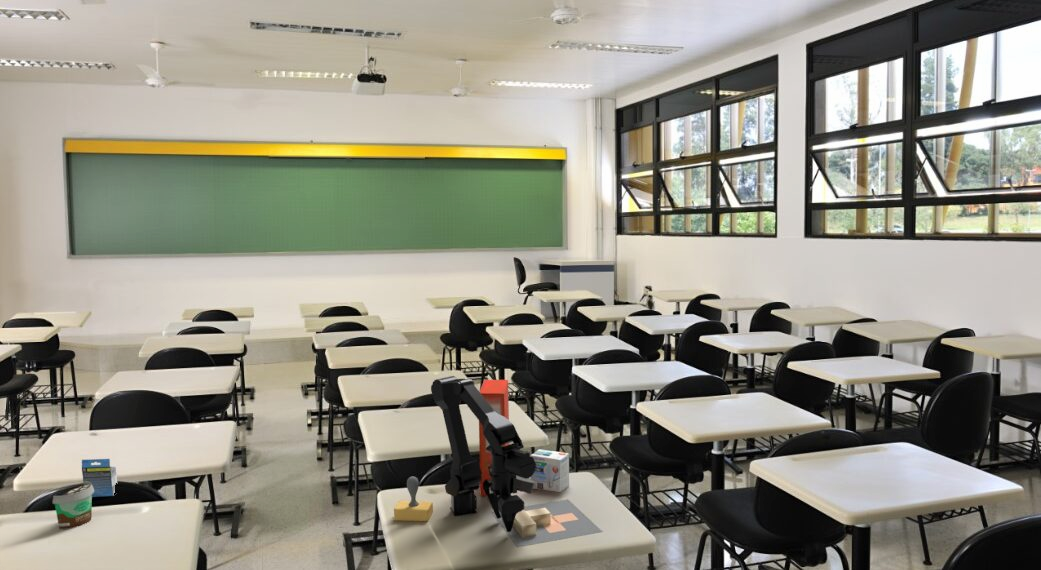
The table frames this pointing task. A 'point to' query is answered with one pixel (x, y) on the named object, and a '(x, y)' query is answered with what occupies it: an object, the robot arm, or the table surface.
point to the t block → (531, 521)
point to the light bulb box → (550, 470)
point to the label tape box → (100, 476)
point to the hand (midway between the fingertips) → (503, 524)
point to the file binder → (498, 401)
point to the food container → (74, 506)
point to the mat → (555, 524)
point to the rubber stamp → (413, 505)
